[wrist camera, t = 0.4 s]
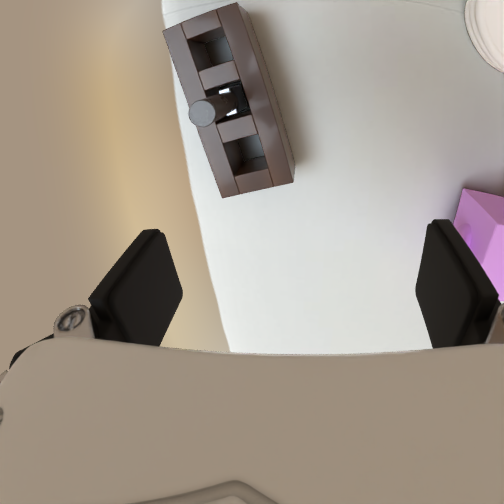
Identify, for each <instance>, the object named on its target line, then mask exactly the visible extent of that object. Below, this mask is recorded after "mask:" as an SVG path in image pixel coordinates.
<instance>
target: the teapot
mask: <svg viewBox="0 0 504 504" xmlns="http://www.w3.org/2000/svg"><path fill="white" fill-rule="evenodd" d="M453 226H454V227H455V228H456V230H457V231H458V232H459V234H460V235H461V237H462V238H463V239H464V241H465V242H466V244H467V245H468V246H469V248H470V249H471V251H472V252H473V254H474V255H475V257H476V258H477V260H478V261H479V263H480V264H481V266H482V268H483V269H484V271H485V272H486V274H487V276H488V277H489V279H490V280H491V282H492V284H493V285H494V287H495V289H496V291H497V292H498V294H499V297H498V299H499V301H504V197H502V196H497V195H493V194H488V193H484V192H479V191H474V190H469V189H464V188H463V190H462V194H461V198H460V202H459V206H458V209H457V213H456V216H455V220H454V223H453Z"/></svg>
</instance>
